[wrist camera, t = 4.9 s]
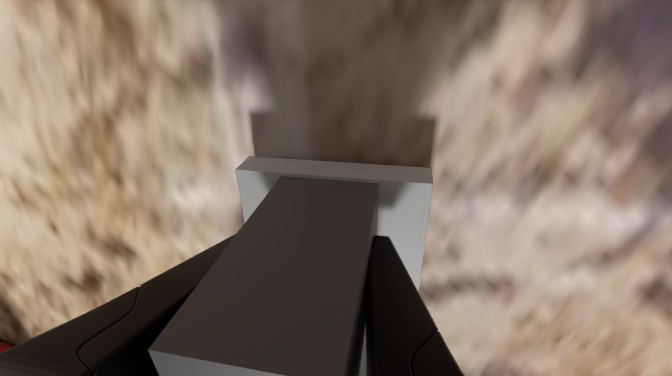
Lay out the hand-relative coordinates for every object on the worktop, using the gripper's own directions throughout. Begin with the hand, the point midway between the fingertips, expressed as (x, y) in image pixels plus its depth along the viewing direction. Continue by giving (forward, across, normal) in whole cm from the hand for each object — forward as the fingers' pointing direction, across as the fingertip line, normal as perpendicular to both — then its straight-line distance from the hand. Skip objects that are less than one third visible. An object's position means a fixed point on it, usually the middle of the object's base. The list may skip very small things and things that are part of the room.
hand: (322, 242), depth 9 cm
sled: (+2, 0, +9) cm, 9 cm away
